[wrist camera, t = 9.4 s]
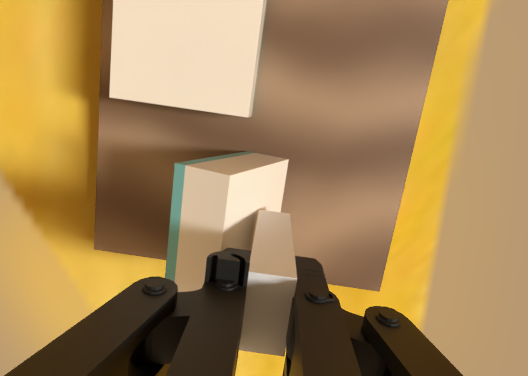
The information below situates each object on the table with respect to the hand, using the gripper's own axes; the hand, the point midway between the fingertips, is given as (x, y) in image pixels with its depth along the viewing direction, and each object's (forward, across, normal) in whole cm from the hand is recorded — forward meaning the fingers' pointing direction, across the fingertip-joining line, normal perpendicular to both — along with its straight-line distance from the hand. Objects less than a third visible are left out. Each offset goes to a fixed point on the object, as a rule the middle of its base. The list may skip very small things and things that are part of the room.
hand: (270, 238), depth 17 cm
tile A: (+3, -2, +9) cm, 10 cm away
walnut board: (+6, -2, +4) cm, 7 cm away
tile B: (+4, -1, 0) cm, 4 cm away
